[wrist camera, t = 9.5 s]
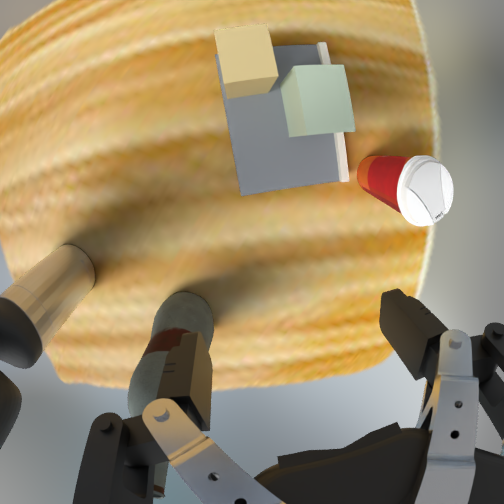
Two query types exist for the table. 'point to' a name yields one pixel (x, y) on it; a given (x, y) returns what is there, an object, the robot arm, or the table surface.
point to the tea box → (317, 100)
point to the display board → (281, 134)
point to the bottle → (153, 360)
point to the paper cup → (409, 186)
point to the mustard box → (246, 60)
